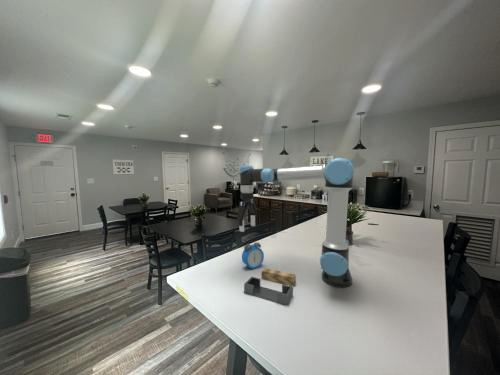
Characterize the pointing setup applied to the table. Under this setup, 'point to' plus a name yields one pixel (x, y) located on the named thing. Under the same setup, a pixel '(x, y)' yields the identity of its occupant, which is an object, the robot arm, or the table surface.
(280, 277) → the long wooden block
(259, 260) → the alarm clock
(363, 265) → the table surface
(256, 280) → the gray cradle tray
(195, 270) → the table surface
